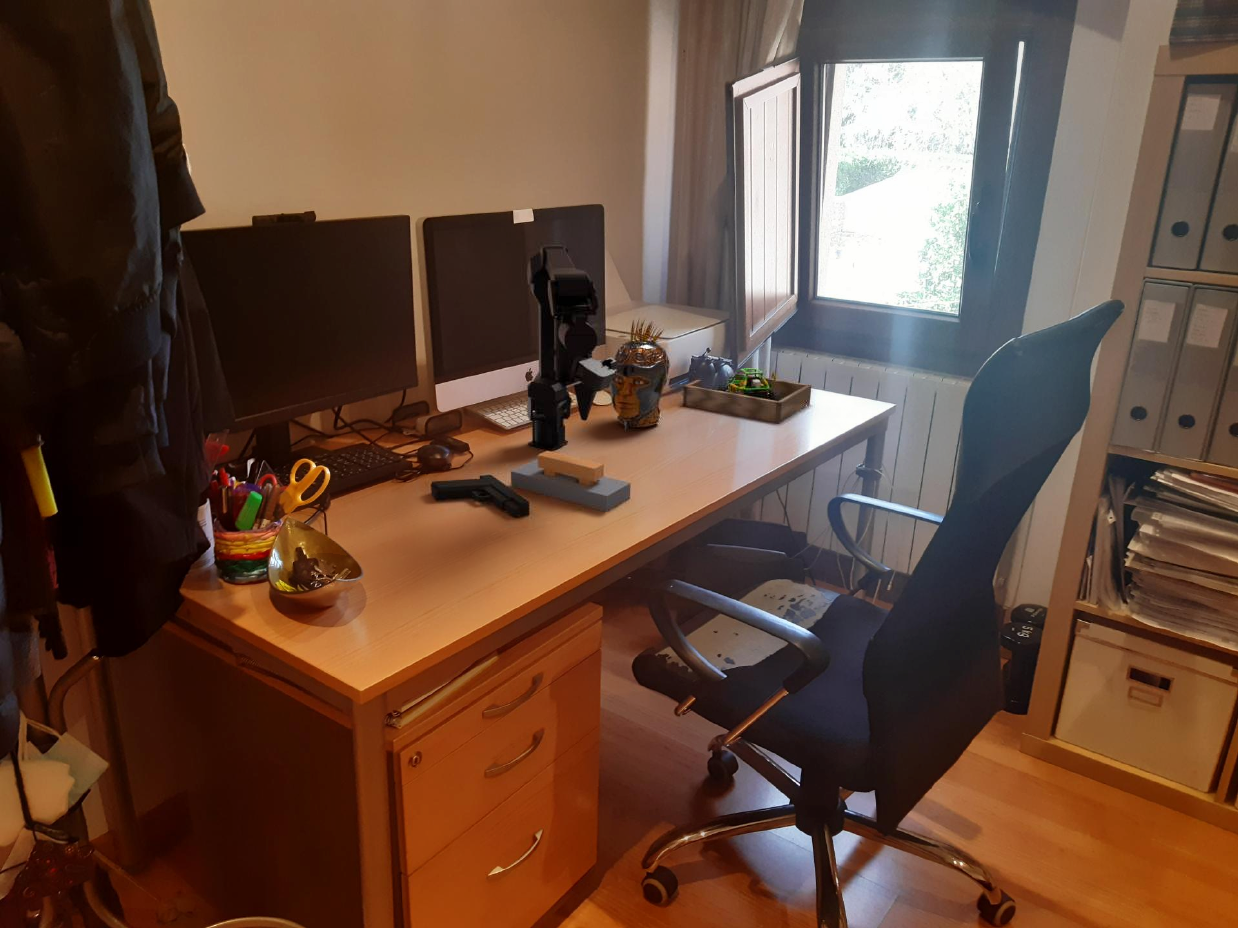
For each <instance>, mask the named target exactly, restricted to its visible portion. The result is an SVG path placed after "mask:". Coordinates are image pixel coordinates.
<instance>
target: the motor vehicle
mask: <svg viewBox="0 0 1238 928" xmlns="http://www.w3.org/2000/svg"><path fill="white" fill-rule="evenodd" d="M747 371H751V372H747ZM753 371H754V372H753ZM741 372H742V373H743V374H746V376H743V377H736V376H737V375H738V374H739V373H740V374H741ZM736 373H737V374H736V375H735V376H734V377H730V379H729V381H730V383H728V382H727V384H729V388H728V386H727V388H726V387H725V384H724V385H719V389H718V391H723V392H729V393H734V394H740V395H746V396H751V397H757V398H762V399H768V400H774V401H780V400H781V396H780V393H779V392H778V391H777V390H771V384H769V385H768V383H767V381H766V380H765V379H764V378H765V377H764V372H763V371H762V370H759V369H758V368H755V367H753V368H752V367H751V368H749V367H746V368H741V369H739V371H738V372H736ZM748 375H752V376H755V377H748ZM757 375H760V376H757ZM756 376H757V377H756ZM760 377H761V379H762V383H763V384H764V385H763V384H761V382H760ZM763 377H764V378H763ZM731 378H733V379H731ZM734 378H743V380H736V381H734V383H731V382H732V381H733V380H734ZM770 379H774V381H775V382H776V380H777V377H776V372H775V371H772V374H771V377H770ZM770 383H771V380H770ZM767 389H769V394H768V393H767ZM726 390H727V391H726ZM739 406H740V404H739Z"/></svg>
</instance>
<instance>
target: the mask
mask: <svg viewBox="0 0 1238 928" xmlns="http://www.w3.org/2000/svg"><path fill="white" fill-rule="evenodd" d="M645 321H646V318H644V320H641V322H640V318H638V321H637V323H636V321H635V320H632V323H631V328H630V329H631V331H630V340H629V341H627V342H625V343H621V345H620V347H618V349H617V351H616V354H615V356H614V360H616V363H617V372H616V373H617V377H616V378H614V379H612V382H611V385H610V387H609V389H610V399H611V404H612V407H613V409H614V410H615V412H616V413H617V416H616V417H617V420H618V421H619V423H620V424H622V425H624V431H625V432H624V433H626V432H627V429H628V428H630V427H631V428H642V427H649V426H653V425H656V424H658V423H659V422H660V421H661V419H662V413H661V406H659V405H660V400H661V397H662V395H663V391H664V388H665V386H666V384H667V382H668V377H669V376H668V375H669V373H670V372H669V371H670V366H671V364H670V358H669V354H668V353H667V351H666V350H665V348H663V347H662V345H659V344H657V343H658V342H659V340H658V339H659V338H660V336H661V335H662V333H664V332H665V330H661V329H659V330H658V331H657V332H656V330H657V328H658V327H659V325H658V326H657V327H656V328H655V326H656V324H657V323H656V324H655V325H654V321H650V322H649V323H646V324H645V327H644V323H645ZM635 323H636V324H635ZM647 324H648V325H647ZM653 325H654V326H653ZM643 327H644V330H643ZM635 328H636V329H635ZM654 328H655V329H654ZM655 332H656V334H655ZM654 334H655V335H654ZM657 340H658V341H657Z"/></svg>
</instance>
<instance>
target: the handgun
mask: <svg viewBox="0 0 1238 928" xmlns="http://www.w3.org/2000/svg"><path fill="white" fill-rule="evenodd" d="M430 492H431V493H430V494H431V495H432V497H433V499H434V500H435V501H456V500H470V499H474V501H476V502H478V503H480V504H481V503H482V504H483V503H491V504H492V505H493V506H495V507H496V508H497V509H498V510H500V511H501V512H506V513H507V514H508V515H510V516H511V517H512V518H514V517H528V516H529V515H530V510H531V509H530V501H529V500H528V499H526V497H523V496H522V495H521V494H520V493H518V492H517V491H515V490H514V489H512V488H511V487H509V486H508V485H506V484H505V483H504V482H502V481H501V480H500V479H498V478H496V477H495V476H494V475H492V474H482V475H479V478H468V479H453V480H451V479H450V480H435V481H434V480H433V481H431V483H430Z"/></svg>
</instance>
